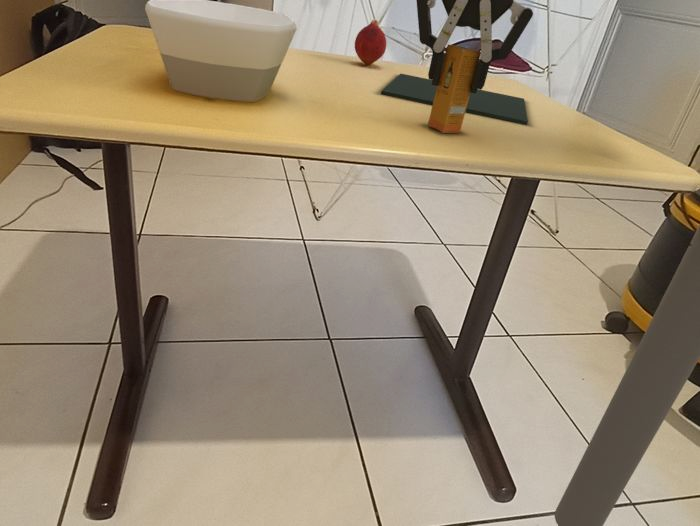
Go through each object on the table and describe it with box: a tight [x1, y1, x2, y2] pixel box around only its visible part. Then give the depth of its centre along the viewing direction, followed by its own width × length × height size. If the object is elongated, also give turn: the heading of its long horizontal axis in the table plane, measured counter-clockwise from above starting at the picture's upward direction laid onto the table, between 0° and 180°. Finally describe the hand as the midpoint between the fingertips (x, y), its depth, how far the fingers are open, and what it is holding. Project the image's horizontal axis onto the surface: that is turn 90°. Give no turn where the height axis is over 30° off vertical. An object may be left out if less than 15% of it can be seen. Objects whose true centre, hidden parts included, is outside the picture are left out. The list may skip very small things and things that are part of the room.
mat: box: [380, 73, 529, 126], centre depth 90 cm, size 22×18×1 cm
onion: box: [354, 19, 387, 67], centre depth 102 cm, size 6×6×8 cm
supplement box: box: [427, 44, 481, 134], centre depth 69 cm, size 3×3×10 cm
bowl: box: [144, 0, 297, 103], centre depth 70 cm, size 18×18×9 cm
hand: (454, 87), depth 69 cm, fingers closed on supplement box, 4 cm apart
